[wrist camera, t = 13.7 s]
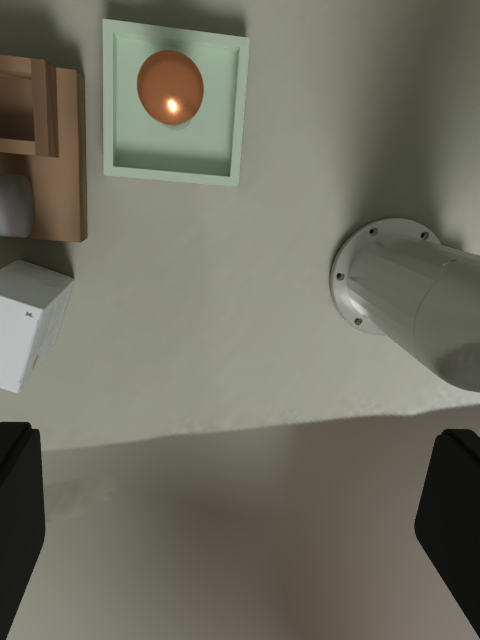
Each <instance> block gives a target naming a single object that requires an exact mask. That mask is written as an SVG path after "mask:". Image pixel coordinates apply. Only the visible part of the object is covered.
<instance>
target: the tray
mask: <svg viewBox="0 0 480 640" xmlns="http://www.w3.org/2000/svg"><path fill="white" fill-rule="evenodd" d="M249 46H250V38H247V37H239V36H231V35H224V34H216V33H209V32H201V31H194V30H186V29H178V28H171V27H163V26H156V25H148V24H140V23H133V22H125V21H118V20H110V19H103V151H104V175H108V176H120V177H131V178H143V179H154V180H166V181H177V182H189V183H200V184H212V185H223V186H235V187H238V183H239V170H240V158H241V145H242V133H243V121H244V108H245V96H246V83H247V71H248V58H249ZM162 50H174V51H178V52H180V53H182V54H184V55H186V56H187V57H189V58H190V59H191V60H192V61H193V62H194V63H195V64H196V66H197V67H198V69H199V71H200V73H201V76H202V79H203V84H204V94H203V100H202V104H201V106H200V109H199V111H198V112H197V114H196V115H195V116H194V117H193V118H192V119H191V122H190V123H189V125H188V126H186V127H185V128H184V129H181V130H171V129H168V128H167V127H165V126H164V125H163V124H162V123H160V122H158V121H156V120H155V119H153V118H152V117H151V116H150V115H149V114H148V113H147V111H146V110H145V109H144V107H143V105H142V104H141V101H140V99H139V96H138V92H137V77H138V73H139V70H140V68H141V66H142V64H143V63H144V61H145V60H146V59H147V58H148V57H150V56H151V55H152V54H154V53H156V52H159V51H162Z"/></svg>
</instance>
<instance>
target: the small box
mask: <svg viewBox="0 0 480 640" xmlns="http://www.w3.org/2000/svg"><path fill="white" fill-rule="evenodd" d="M73 282H74V278H72V277H69V276H66V275H63V274H60V273H58V272H55V271H52V270H49V269H46V268H43V267H41V266H38V265H35V264H32V263H29V262H26V261H23V260H21V259H18V260H16V261H14V262H12V263H10V264H8V265H7V266H5V267H3V268H1V269H0V388H2V389H5V390H8V391H12V392H15V393H19V392H20V391H21V389H22V388H23V387H24V385H25V384H26V383H27V381H28V380H29V379H30V377H31V376H32V375H33V373H34V372H35V371H36V369H37V368H38V367H39V365H40V364H41V363H42V361H43V360H44V359H45V357H46V356H47V355H48V353H49V352H50V351H51V349H52V348H53V347H54V344H55V340H56V337H57V334H58V331H59V327H60V324H61V321H62V317H63V314H64V311H65V308H66V304H67V301H68V298H69V294H70V291H71V288H72V285H73Z"/></svg>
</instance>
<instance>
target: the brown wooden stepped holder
mask: <svg viewBox="0 0 480 640" xmlns="http://www.w3.org/2000/svg"><path fill="white" fill-rule="evenodd" d="M0 237H8V238H23V239H38V240H53V241H67V242H82V241H83V240H85V239H87V183H86V127H85V77H84V76H83V75H81V74H80V73H79V72H78V71H77V70H74V69H65V68H56V67H53V66H52V65H51V64H49V63H48V62H47V61H46V60H42V59H34V58H25V57H17V56H8V55H0Z"/></svg>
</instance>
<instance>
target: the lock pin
mask: <svg viewBox="0 0 480 640" xmlns="http://www.w3.org/2000/svg"><path fill="white" fill-rule="evenodd" d="M137 92H138V96H139V99H140V101H141V104H142V105H143V107H144V109H145V110H146V111H147V113H148V114H149V115H150V116H151V117H152V118H153V119H155V120H156V121H158V122H160V123H162V124H163V125H164V126H165V127H167V128H168V129H171V130H181V129H184V128H185V127H186V126H188V125H189V123H190V122H191V119H192V118H193V117H194V116H195V115H196V114H197V112H198V111H199V109H200V106H201V104H202V100H203V94H204V84H203V79H202V76H201V73H200V71H199V69H198V67H197V66H196V64H195V63H194V62H193V61H192V60H191V59H190V58H189V57H187V56H186V55H184V54H182V53H180V52H178V51H174V50H162V51H159V52H156V53H154V54H152V55H151V56H150V57H148V58H147V59H146V60H145V61H144V63H143V64H142V66H141V68H140V70H139V73H138V77H137Z"/></svg>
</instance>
